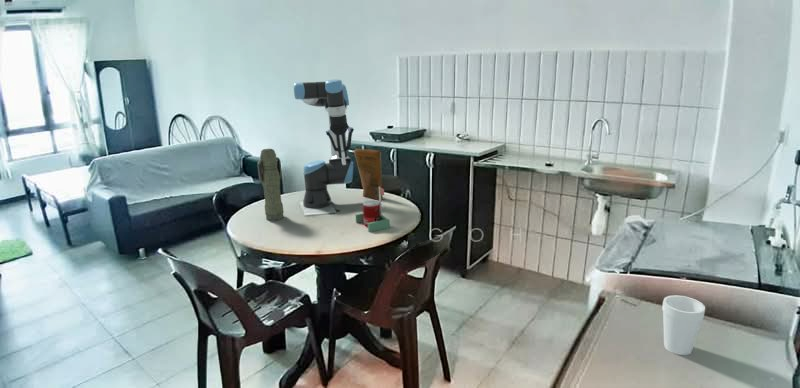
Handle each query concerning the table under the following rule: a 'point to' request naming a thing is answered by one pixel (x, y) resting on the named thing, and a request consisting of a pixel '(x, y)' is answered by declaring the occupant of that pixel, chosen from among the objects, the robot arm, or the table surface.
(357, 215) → the green c-shaped bracket
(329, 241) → the table surface
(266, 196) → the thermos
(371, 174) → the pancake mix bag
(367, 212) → the canned food
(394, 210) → the table surface
